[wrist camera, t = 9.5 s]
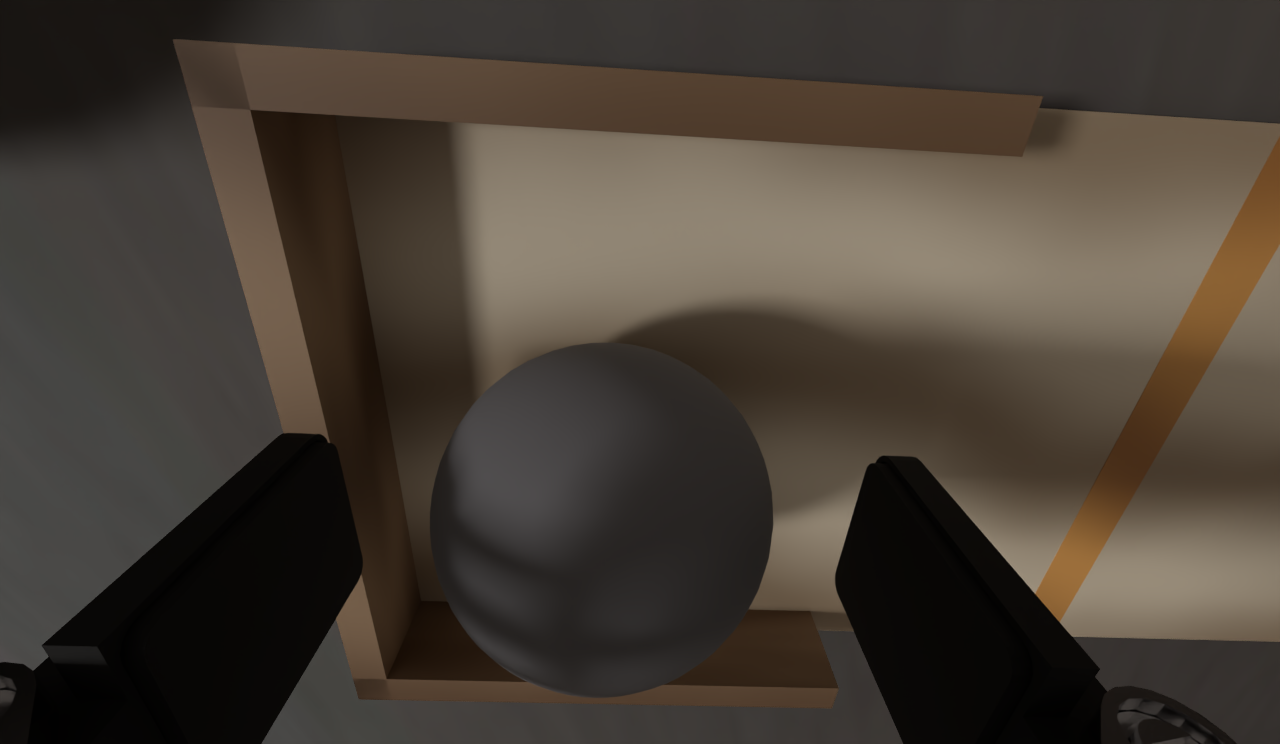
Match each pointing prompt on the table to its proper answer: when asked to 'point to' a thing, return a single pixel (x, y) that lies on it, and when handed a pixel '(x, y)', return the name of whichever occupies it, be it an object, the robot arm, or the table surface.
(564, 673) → the rubber ball
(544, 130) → the mat
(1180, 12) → the table surface
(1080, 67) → the table surface
